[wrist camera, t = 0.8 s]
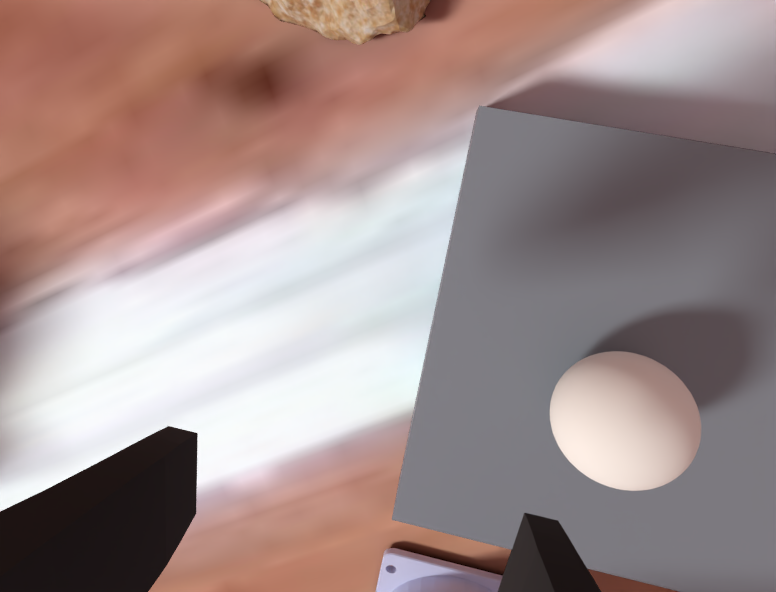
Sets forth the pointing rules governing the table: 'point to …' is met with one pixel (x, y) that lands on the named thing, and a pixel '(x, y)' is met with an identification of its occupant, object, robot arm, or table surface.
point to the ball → (625, 421)
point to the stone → (350, 16)
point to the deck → (603, 345)
